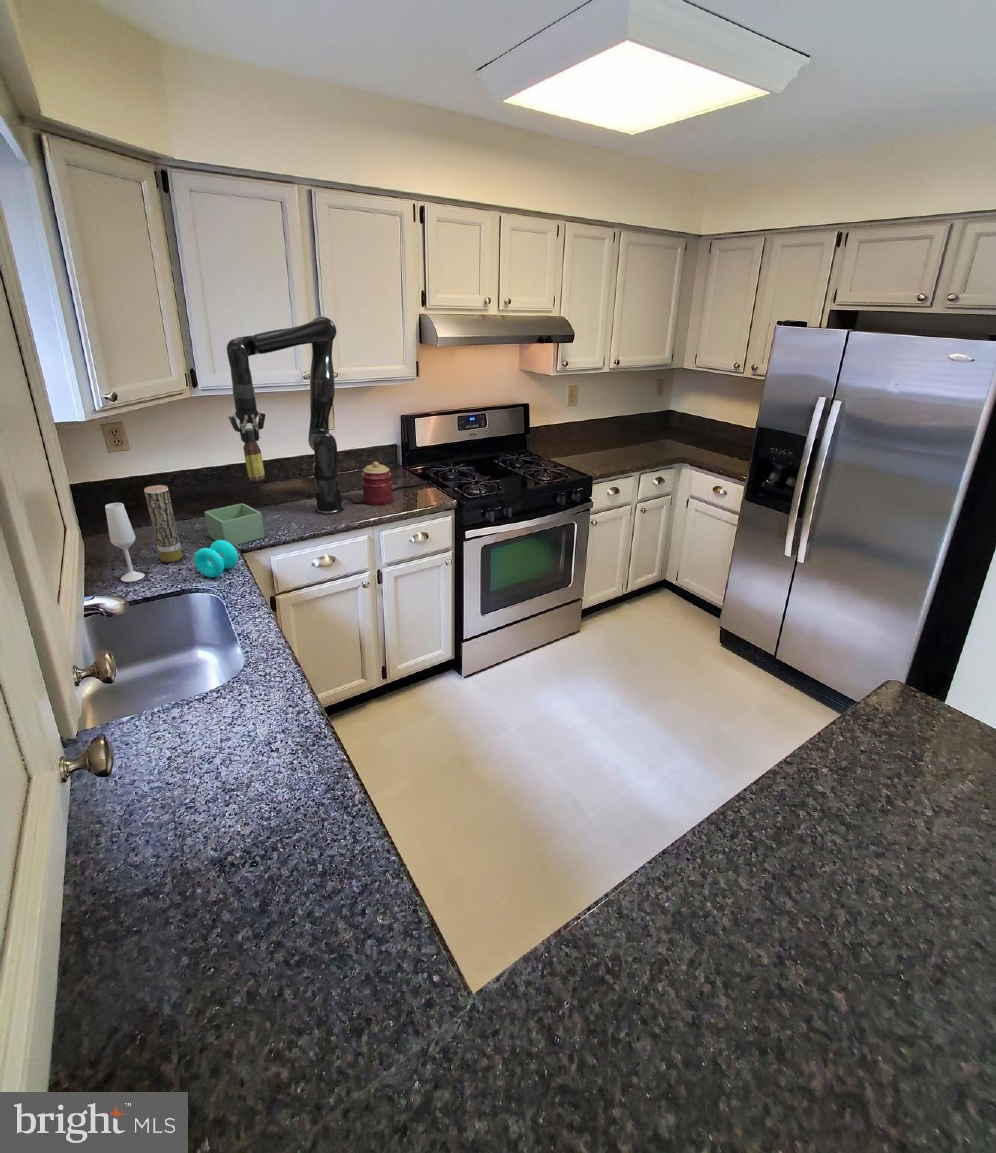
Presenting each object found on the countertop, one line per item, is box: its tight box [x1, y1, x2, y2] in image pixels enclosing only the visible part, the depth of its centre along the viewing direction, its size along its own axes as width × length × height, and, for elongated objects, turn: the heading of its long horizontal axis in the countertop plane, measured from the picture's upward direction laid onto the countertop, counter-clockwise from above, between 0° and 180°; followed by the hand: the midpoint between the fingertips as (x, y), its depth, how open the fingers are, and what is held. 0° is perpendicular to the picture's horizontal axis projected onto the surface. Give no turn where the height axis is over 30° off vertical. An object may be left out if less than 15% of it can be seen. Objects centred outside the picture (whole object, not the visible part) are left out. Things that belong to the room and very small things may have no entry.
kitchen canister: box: [360, 461, 394, 506], centre depth 261 cm, size 13×13×18 cm
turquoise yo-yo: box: [193, 540, 239, 578], centre depth 193 cm, size 10×10×10 cm
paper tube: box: [143, 484, 183, 563], centre depth 197 cm, size 7×7×25 cm
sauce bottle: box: [243, 427, 265, 482], centre depth 233 cm, size 7×6×20 cm
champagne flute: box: [104, 502, 146, 583], centre depth 184 cm, size 7×7×24 cm
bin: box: [204, 503, 266, 547], centre depth 220 cm, size 15×15×10 cm
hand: (250, 441), depth 231 cm, fingers closed on sauce bottle, 4 cm apart
